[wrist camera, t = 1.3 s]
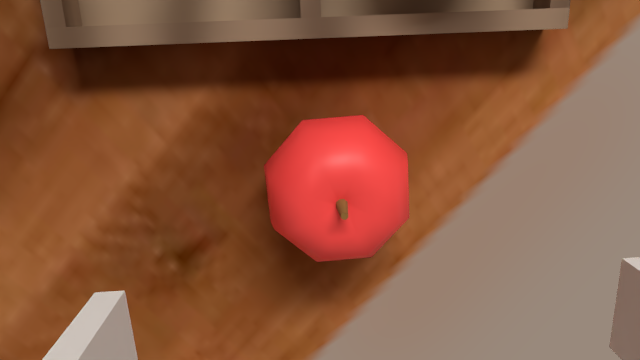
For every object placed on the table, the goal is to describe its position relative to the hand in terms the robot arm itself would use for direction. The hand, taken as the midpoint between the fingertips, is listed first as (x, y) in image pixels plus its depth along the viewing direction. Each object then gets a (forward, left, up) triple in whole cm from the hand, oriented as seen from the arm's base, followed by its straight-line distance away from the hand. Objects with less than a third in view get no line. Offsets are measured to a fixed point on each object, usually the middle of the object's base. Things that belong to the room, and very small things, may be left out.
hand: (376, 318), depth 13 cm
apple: (0, 0, -17) cm, 17 cm away
